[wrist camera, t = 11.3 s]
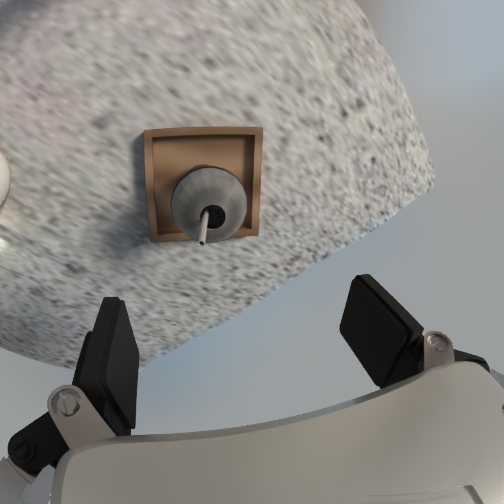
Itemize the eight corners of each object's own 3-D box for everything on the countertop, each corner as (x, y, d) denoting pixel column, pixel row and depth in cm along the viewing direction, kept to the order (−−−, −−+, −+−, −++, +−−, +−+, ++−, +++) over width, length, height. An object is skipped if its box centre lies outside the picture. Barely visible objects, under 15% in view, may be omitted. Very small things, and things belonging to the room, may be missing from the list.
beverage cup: (233, 200, 38) (278, 272, 20) (182, 212, 37) (180, 296, 19) (224, 148, 34) (265, 174, 17) (170, 161, 33) (150, 200, 16)
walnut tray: (146, 130, 32) (143, 130, 30) (258, 127, 35) (262, 127, 33) (152, 235, 38) (150, 242, 36) (254, 229, 41) (258, 235, 39)
